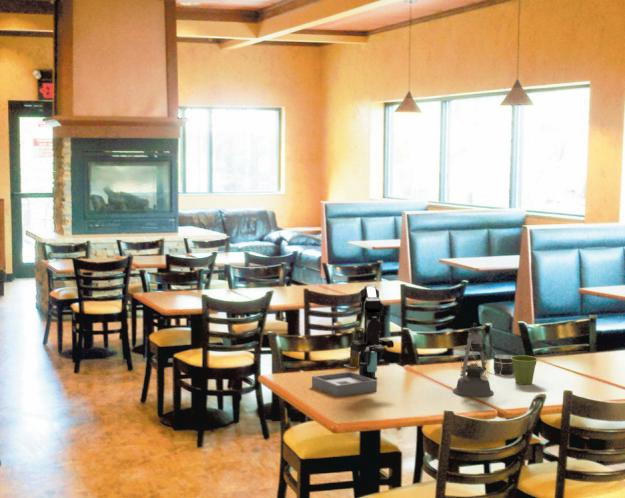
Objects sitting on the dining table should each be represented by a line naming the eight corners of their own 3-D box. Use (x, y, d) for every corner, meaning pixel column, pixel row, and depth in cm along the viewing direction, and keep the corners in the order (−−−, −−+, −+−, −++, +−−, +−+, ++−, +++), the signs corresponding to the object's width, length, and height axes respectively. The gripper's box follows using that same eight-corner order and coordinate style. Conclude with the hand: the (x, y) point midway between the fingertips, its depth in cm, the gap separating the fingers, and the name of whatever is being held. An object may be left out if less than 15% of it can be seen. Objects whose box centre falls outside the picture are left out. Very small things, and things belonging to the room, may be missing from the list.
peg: (373, 369, 414) (373, 350, 413) (378, 371, 411) (379, 352, 410) (365, 370, 412) (365, 351, 411) (371, 372, 409) (371, 353, 408)
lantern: (496, 400, 403) (498, 328, 400) (448, 395, 410) (450, 325, 407) (503, 390, 419) (505, 321, 417) (457, 386, 426) (459, 318, 424)
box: (350, 381, 433) (350, 371, 433) (376, 390, 416) (376, 380, 416) (312, 386, 423) (312, 376, 422) (337, 396, 406) (337, 385, 406)
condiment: (366, 366, 465) (366, 341, 464) (351, 368, 461) (352, 343, 459) (357, 363, 471) (357, 339, 470) (343, 365, 467) (343, 340, 465)
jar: (518, 372, 456) (518, 356, 456) (510, 376, 448) (510, 359, 447) (498, 369, 462) (498, 353, 461) (490, 373, 453) (490, 357, 452)
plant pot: (510, 379, 441) (510, 354, 440) (536, 380, 439) (537, 356, 438) (509, 385, 430) (510, 360, 428) (537, 386, 427) (538, 361, 426)
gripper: (379, 323, 421) (378, 359, 423) (343, 327, 411) (342, 364, 413) (394, 327, 412) (394, 364, 414) (358, 332, 402) (358, 369, 403)
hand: (372, 365), depth 411 cm, fingers closed on peg, 4 cm apart
